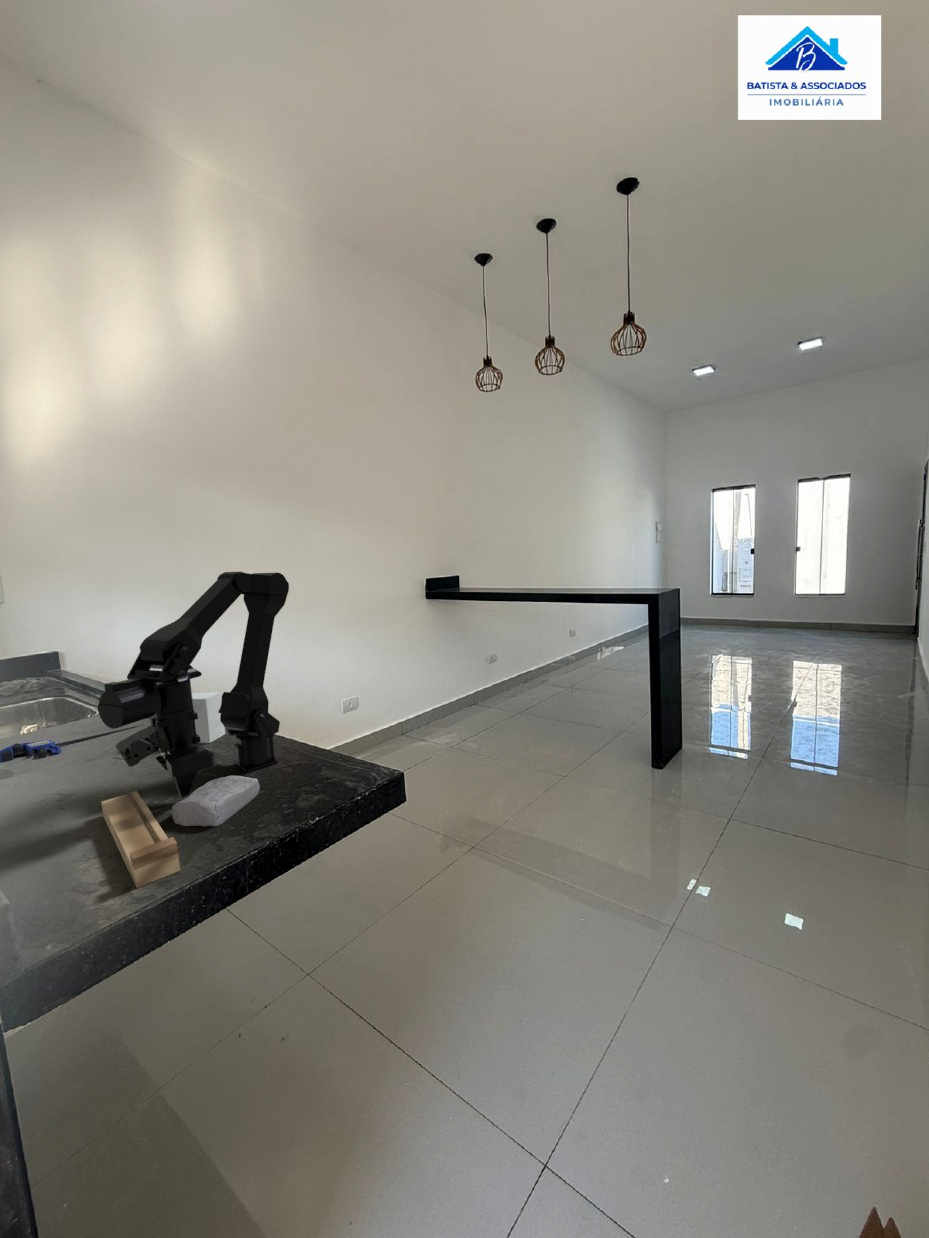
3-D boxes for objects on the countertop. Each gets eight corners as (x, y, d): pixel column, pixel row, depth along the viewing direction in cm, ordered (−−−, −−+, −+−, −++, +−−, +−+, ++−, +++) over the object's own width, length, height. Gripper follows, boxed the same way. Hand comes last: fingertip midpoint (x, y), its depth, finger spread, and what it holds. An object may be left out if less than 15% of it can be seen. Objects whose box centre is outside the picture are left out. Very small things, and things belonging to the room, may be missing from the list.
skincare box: (226, 733, 120) (222, 691, 119) (210, 743, 114) (205, 699, 113) (186, 733, 122) (181, 691, 120) (167, 743, 115) (162, 699, 114)
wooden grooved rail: (138, 804, 86) (135, 782, 86) (180, 870, 67) (176, 842, 67) (103, 815, 83) (99, 793, 82) (136, 888, 64) (132, 859, 63)
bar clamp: (3, 758, 104) (-6, 748, 110) (4, 769, 104) (-5, 758, 111) (171, 720, 129) (156, 713, 135) (172, 729, 129) (157, 722, 135)
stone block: (167, 836, 80) (221, 828, 77) (160, 807, 79) (213, 798, 77) (218, 802, 91) (266, 794, 89) (211, 776, 91) (259, 768, 89)
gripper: (107, 708, 86) (118, 794, 88) (128, 734, 72) (141, 836, 74) (179, 694, 93) (188, 774, 95) (211, 715, 80) (221, 808, 82)
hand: (184, 796), depth 87 cm, fingers closed
